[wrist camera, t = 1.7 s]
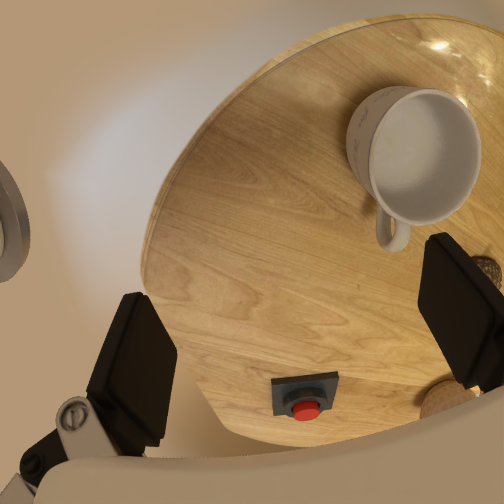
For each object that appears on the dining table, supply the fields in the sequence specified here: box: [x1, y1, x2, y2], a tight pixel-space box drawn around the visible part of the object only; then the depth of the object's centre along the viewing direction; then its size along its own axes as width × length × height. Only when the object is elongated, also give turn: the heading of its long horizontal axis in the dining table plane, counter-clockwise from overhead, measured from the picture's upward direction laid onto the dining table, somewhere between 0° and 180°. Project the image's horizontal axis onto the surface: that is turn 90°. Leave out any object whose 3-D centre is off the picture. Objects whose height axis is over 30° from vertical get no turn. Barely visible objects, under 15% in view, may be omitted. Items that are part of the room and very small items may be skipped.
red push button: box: [293, 401, 320, 421], centre depth 43 cm, size 4×4×2 cm
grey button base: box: [271, 372, 339, 418], centre depth 45 cm, size 10×10×3 cm
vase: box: [420, 380, 476, 419], centre depth 43 cm, size 13×13×17 cm
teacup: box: [346, 86, 482, 252], centre depth 23 cm, size 14×11×8 cm
